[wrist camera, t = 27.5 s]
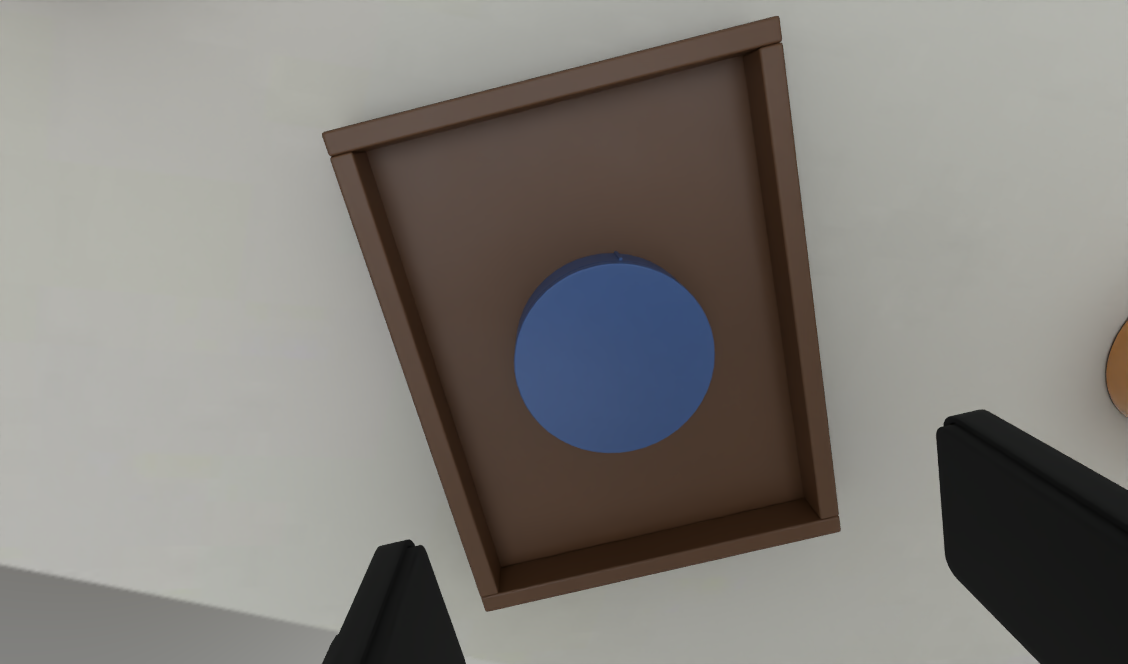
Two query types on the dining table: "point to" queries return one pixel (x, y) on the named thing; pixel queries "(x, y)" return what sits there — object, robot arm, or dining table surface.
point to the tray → (588, 227)
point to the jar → (1119, 371)
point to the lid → (612, 353)
